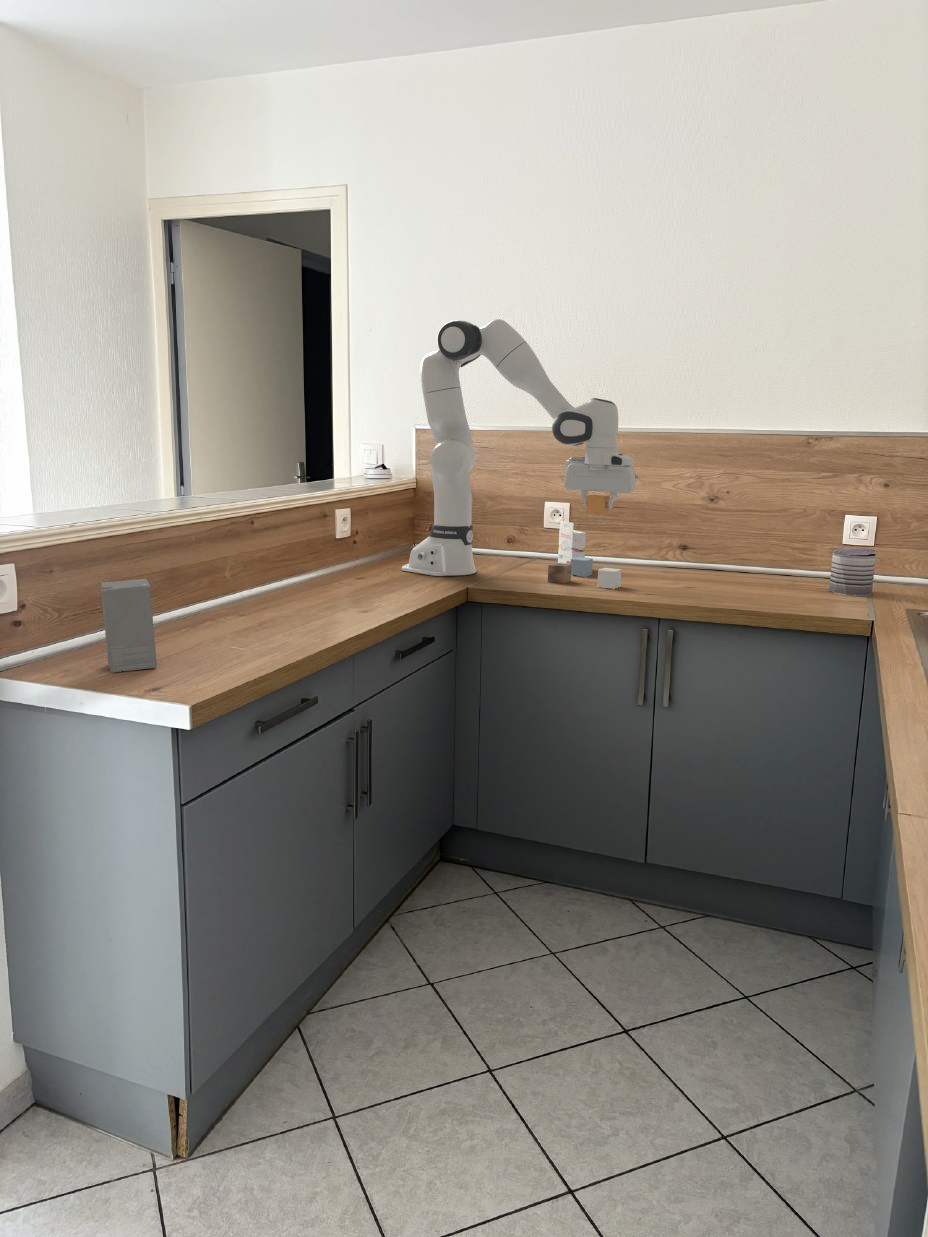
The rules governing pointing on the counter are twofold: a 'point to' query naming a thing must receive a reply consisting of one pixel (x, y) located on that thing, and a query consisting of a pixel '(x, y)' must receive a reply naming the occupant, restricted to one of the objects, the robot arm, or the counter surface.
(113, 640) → the skincare box
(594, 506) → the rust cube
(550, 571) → the walnut cube
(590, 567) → the slate cube
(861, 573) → the can
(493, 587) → the counter surface
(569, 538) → the ink cartridge box
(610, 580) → the grey cube
